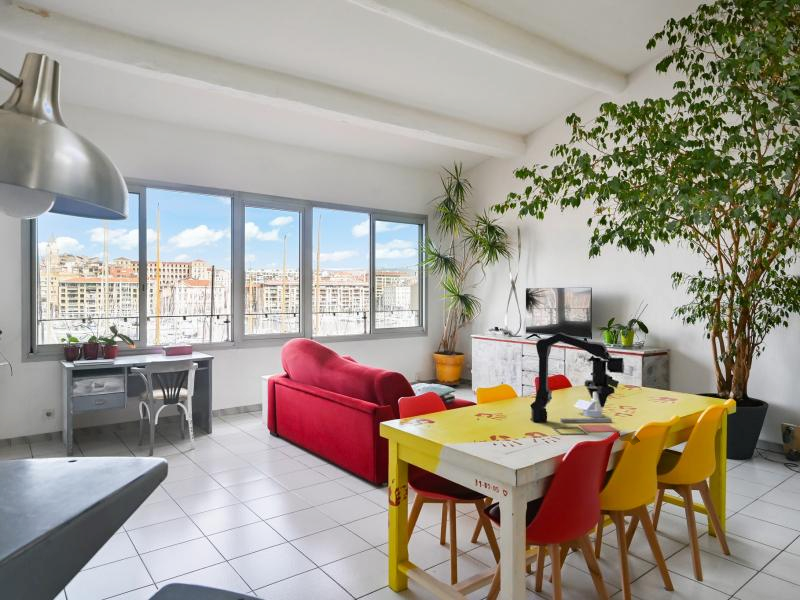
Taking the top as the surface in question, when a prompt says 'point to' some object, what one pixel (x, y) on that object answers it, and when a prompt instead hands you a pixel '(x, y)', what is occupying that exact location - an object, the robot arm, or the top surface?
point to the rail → (586, 420)
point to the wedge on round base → (588, 409)
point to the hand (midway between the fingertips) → (598, 405)
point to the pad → (599, 428)
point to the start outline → (570, 433)
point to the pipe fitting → (596, 402)
